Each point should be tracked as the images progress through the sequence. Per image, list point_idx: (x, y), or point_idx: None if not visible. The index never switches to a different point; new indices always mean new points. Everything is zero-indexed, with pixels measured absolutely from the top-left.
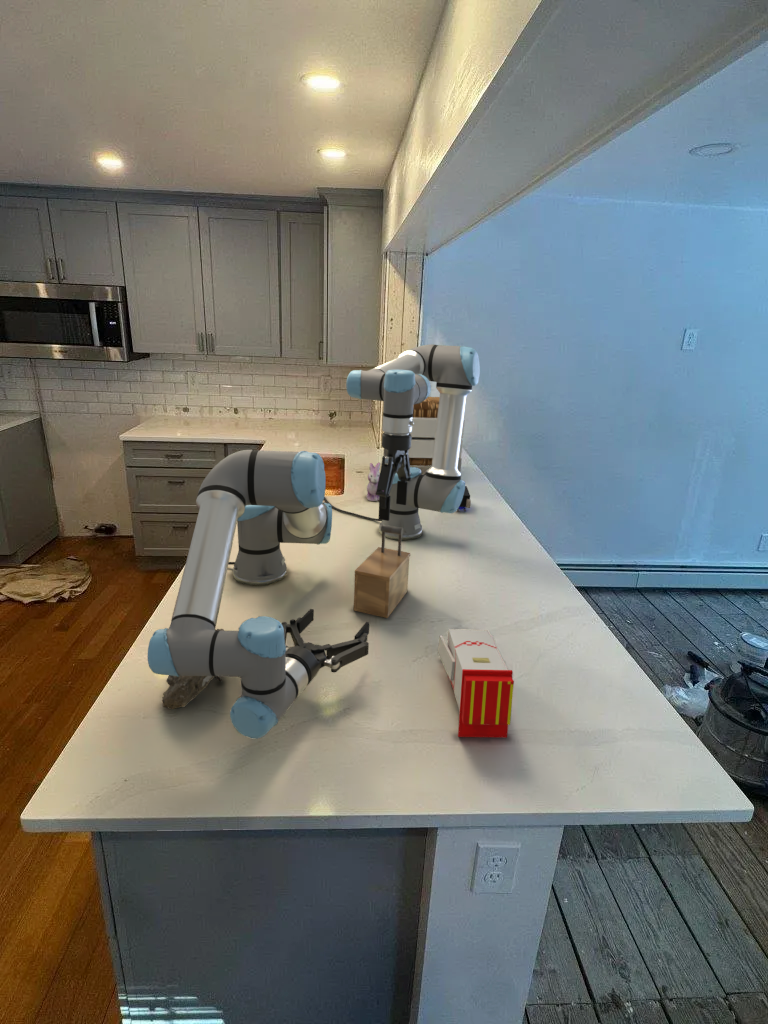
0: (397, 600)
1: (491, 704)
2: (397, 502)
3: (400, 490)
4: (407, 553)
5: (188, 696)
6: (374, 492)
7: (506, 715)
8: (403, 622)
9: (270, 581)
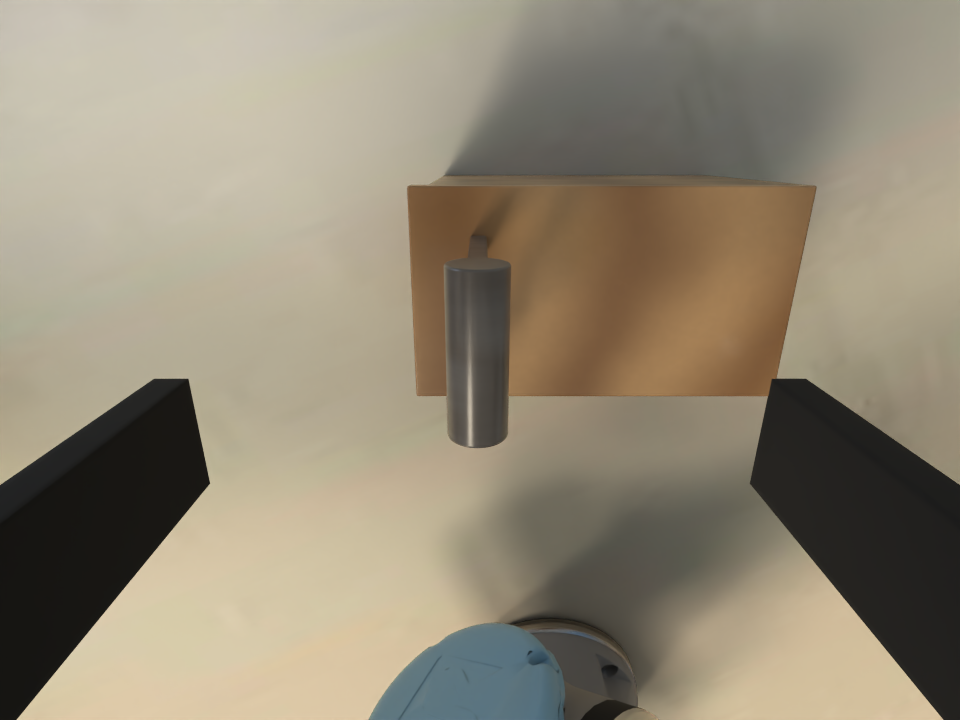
0: (589, 176)
1: None
2: (197, 480)
3: (84, 569)
4: (427, 202)
5: None
6: None
7: None
8: (719, 96)
9: (603, 638)
